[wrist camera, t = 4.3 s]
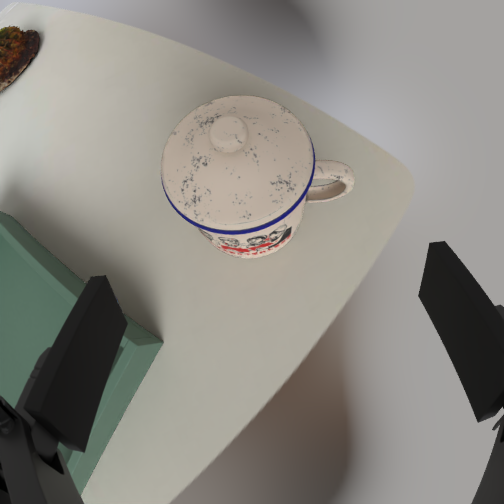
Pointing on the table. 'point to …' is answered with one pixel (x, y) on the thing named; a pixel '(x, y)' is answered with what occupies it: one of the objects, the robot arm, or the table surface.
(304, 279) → the table surface
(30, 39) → the cactus
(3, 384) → the tray
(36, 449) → the robot arm
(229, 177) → the teacup with lid
